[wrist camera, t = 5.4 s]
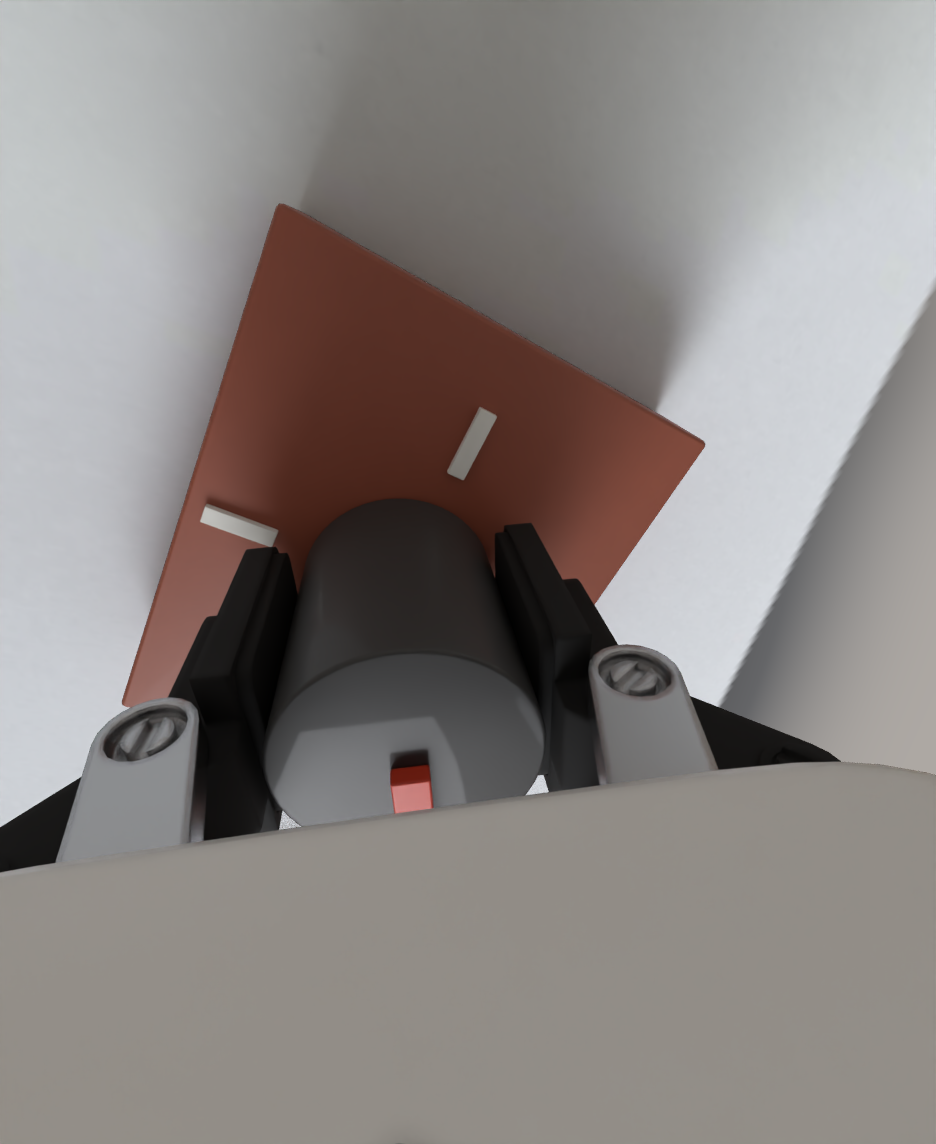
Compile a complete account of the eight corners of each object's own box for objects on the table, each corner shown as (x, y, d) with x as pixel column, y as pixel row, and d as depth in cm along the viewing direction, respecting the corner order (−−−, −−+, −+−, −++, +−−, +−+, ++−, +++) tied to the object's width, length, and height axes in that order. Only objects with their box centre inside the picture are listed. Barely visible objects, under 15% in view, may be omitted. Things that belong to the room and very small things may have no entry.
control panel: (297, 209, 11) (275, 199, 9) (658, 413, 14) (712, 446, 12) (156, 641, 15) (116, 711, 13) (455, 726, 18) (466, 796, 16)
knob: (287, 505, 11) (223, 685, 7) (488, 489, 12) (560, 647, 7) (319, 665, 13) (289, 888, 9) (491, 647, 14) (547, 850, 9)
